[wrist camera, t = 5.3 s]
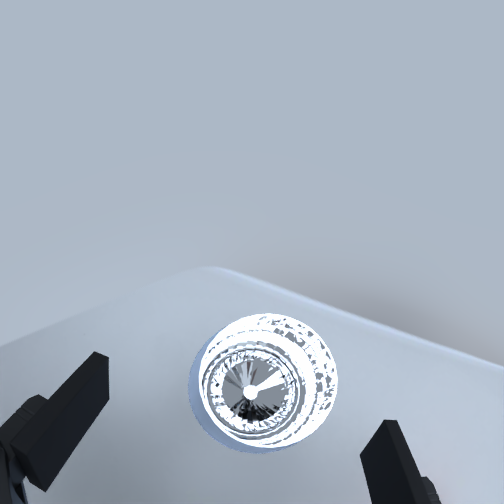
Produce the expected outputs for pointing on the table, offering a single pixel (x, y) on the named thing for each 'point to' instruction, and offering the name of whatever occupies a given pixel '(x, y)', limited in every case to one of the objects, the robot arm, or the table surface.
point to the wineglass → (262, 384)
